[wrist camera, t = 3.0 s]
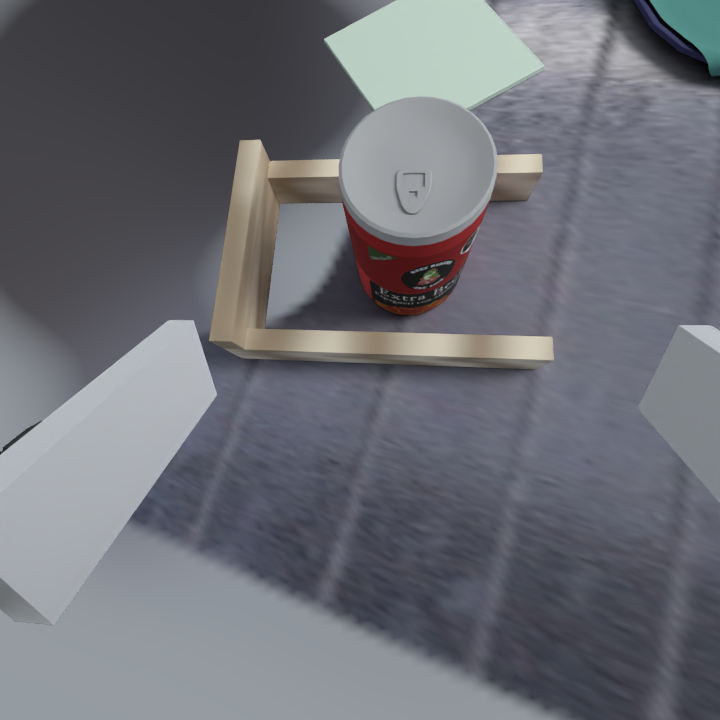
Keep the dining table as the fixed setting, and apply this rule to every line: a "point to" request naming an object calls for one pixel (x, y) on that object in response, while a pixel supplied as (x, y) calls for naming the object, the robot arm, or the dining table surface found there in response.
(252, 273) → the shelf lane
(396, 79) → the pad
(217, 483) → the dining table surface
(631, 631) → the dining table surface
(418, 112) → the canned food
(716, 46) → the cutlery set
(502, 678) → the dining table surface
